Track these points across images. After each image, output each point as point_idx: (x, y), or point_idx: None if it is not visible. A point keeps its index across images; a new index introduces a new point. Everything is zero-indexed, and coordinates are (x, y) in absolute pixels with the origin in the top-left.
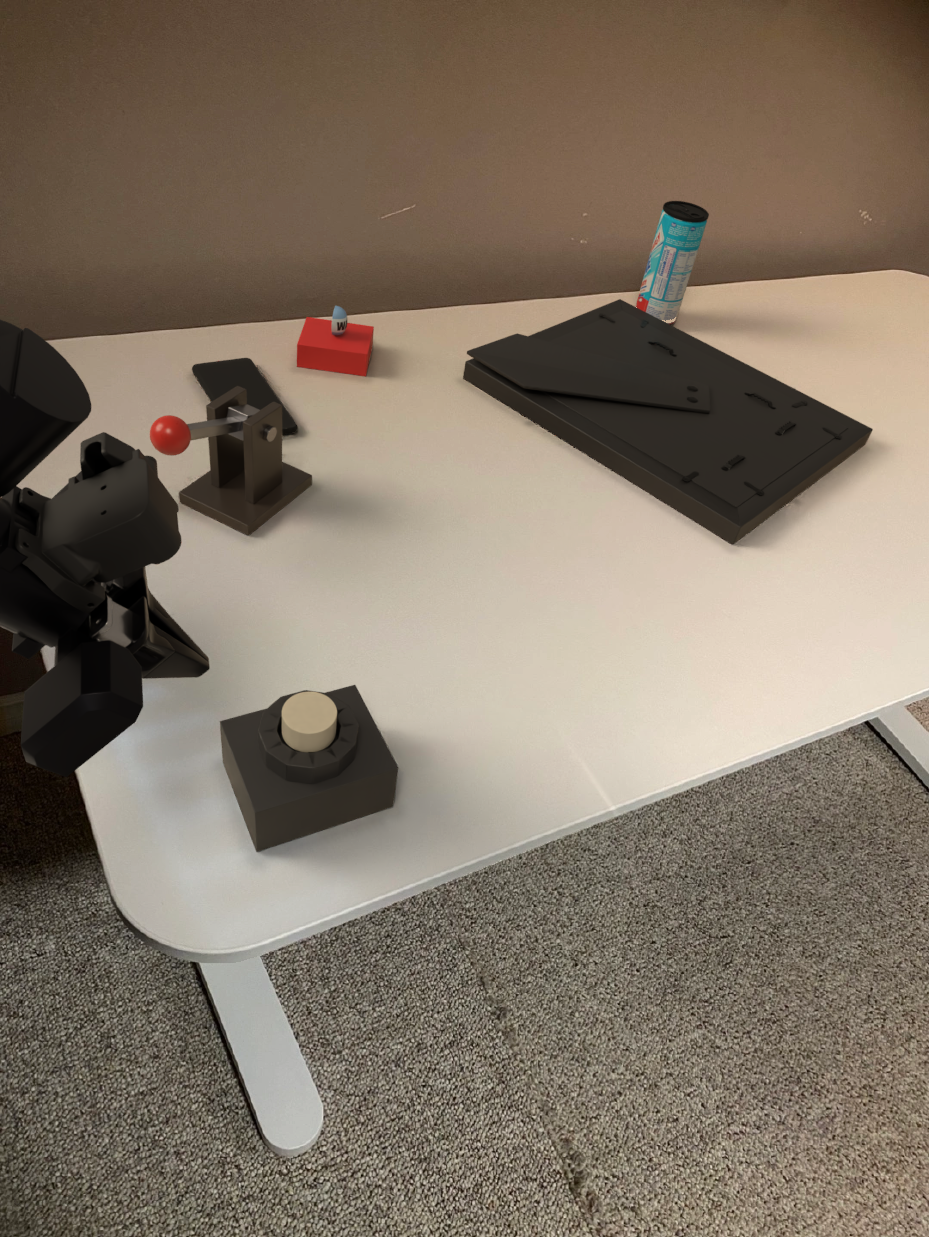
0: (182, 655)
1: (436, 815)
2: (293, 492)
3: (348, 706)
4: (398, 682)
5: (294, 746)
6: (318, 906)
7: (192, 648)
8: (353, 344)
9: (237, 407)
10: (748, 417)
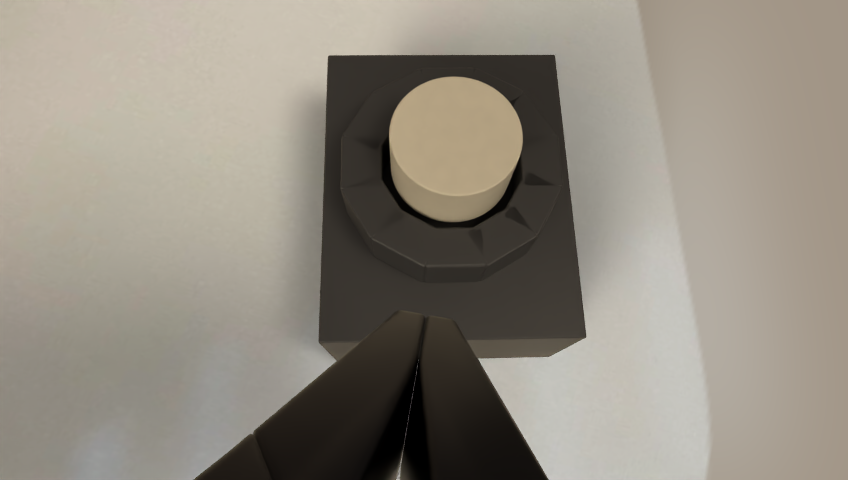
0: (520, 438)
1: (562, 70)
2: None
3: (420, 70)
4: (282, 24)
5: (492, 205)
6: (675, 290)
7: (409, 366)
8: None
9: None
10: None
